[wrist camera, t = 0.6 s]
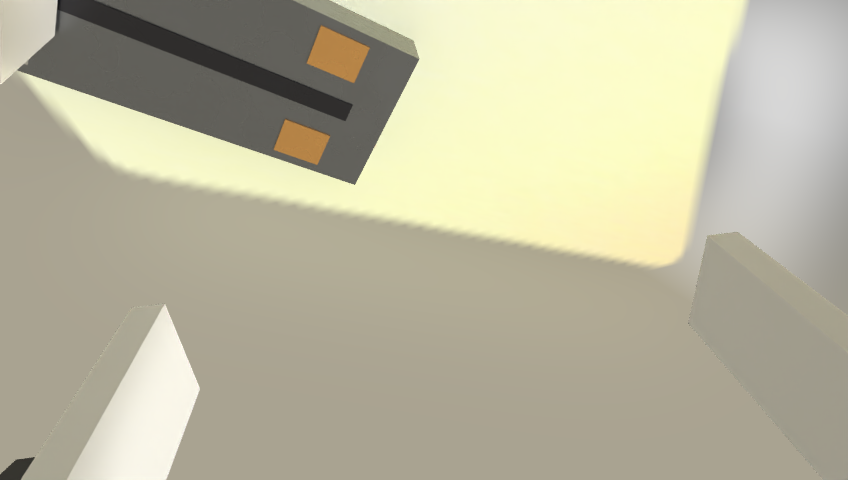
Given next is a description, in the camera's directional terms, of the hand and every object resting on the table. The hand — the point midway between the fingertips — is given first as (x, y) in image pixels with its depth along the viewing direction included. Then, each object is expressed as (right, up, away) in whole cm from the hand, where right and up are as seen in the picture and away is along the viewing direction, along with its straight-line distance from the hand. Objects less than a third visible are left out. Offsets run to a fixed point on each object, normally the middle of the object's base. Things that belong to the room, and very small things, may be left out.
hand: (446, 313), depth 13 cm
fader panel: (-14, +14, +19) cm, 28 cm away
